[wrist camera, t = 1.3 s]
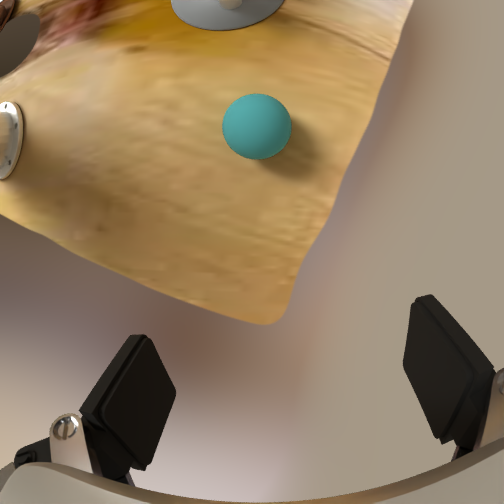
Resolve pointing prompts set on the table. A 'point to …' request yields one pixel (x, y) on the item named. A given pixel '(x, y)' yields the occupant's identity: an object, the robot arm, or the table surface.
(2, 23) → the cup and saucer
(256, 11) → the pin spot
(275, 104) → the ball
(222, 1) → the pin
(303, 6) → the table surface
